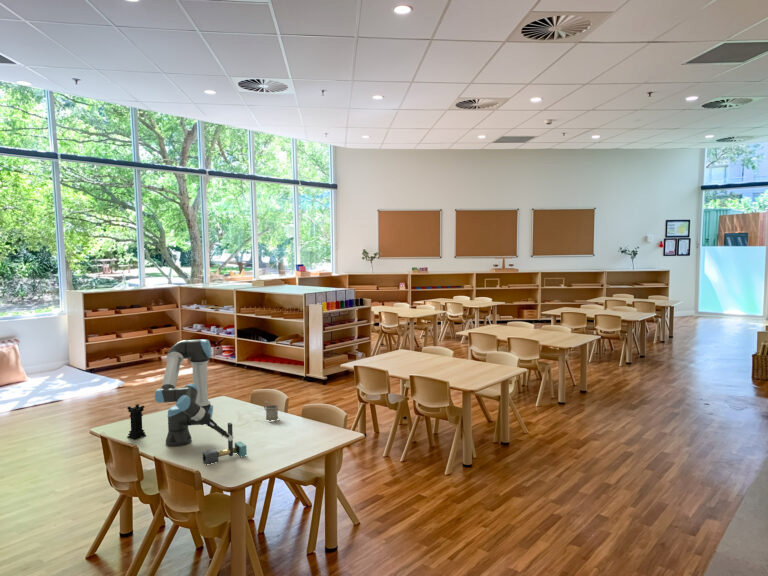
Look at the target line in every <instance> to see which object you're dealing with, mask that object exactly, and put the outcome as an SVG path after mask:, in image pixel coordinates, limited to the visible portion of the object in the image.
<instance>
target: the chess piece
mask: <svg viewBox="0 0 768 576" xmlns="http://www.w3.org/2000/svg"><path fill="white" fill-rule="evenodd" d="M134 405H135V406H134V407H132V406H130V405H129V406H127V408H126V409H127V410H128V413H129V414H130V415H129V416H128V417H130V430H129V431H128V432H129V433H128V434H127V437H126V438H129V439H131V440H134V441H136V440H138V439H142V438H144V437H147V434H146V432H145V429H143V416H144V414H143V413H142V412H144V408H145V405H140V404H139V403H137V404H134Z"/></svg>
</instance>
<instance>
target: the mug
mask: <svg viewBox="0 0 768 576" xmlns="http://www.w3.org/2000/svg"><path fill="white" fill-rule="evenodd" d="M263 408H264V411H265V412H266V413H265V415H266V417H265V419H266V420H269V421H271V420H277V419H278V418H279V414H278V413H279V412H278V411H279V410H278V408H279V406H278V405H276V404H270V405H269V403H268V401H264V403H263Z"/></svg>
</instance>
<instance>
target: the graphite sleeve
mask: <svg viewBox="0 0 768 576" xmlns="http://www.w3.org/2000/svg"><path fill="white" fill-rule="evenodd" d="M218 452H219V451H218V450H217V449H216V448H213V449H212V448H211V449H208V450H204V451H202V463H203V464H204V465H205V464H206V465H205V466H208V465H207V464H210V465H212V464H211V463H214V464H216V463H215V462H217V463H219V457H218Z"/></svg>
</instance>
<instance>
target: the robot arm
mask: <svg viewBox="0 0 768 576" xmlns="http://www.w3.org/2000/svg"><path fill="white" fill-rule="evenodd" d="M212 352H213V351H212V346H211V343H210V340H209V339H183V340H179V341H178V342H176V343H175V344H174V345H172V346H171V347H170V348H169V350H168V351H167V354H166V367H165V371H164V375H163V378H162V383H161V387H160V388H157V389H156V390H155V391H154V400H155V403H161V404H164V403H175V405H173V406H171V407H169V408H168V409H167V425H168V427H167V429H168V432H167V434H166V439H165V445H166V446H167V447H173V448H175V447H182V446H186V445H189V444H190V443H192V435H191V432H190V429H189V426H190V427H191V426H204V425H205V426H207V427H209V428H210V429H213V430H214V431H215V432H217V433H218V434H219V435H221V437H222V438H223V437H224V438H225V439H226V440H227V441H228V440H229V441H232V439H234V438H235V437H234V436H231V435H230V434H229V433H228V431H226V430H225V429H223V428H222V427H220V426H219V425H218V424H217V423H216V422H215V420H213V414H214V405H213V404H211V401H209V399H208V398H209V396H208V395H209V392H208V362H209V361H210V358H212V357H213V356H212V355H213V353H212ZM184 359H185V360H188V359H189V363H190V364H191V365H192V383H188V384H186V385H185V387H177V383H178V379H179V374H180V369H181V365H182V363H183V361H184Z"/></svg>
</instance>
